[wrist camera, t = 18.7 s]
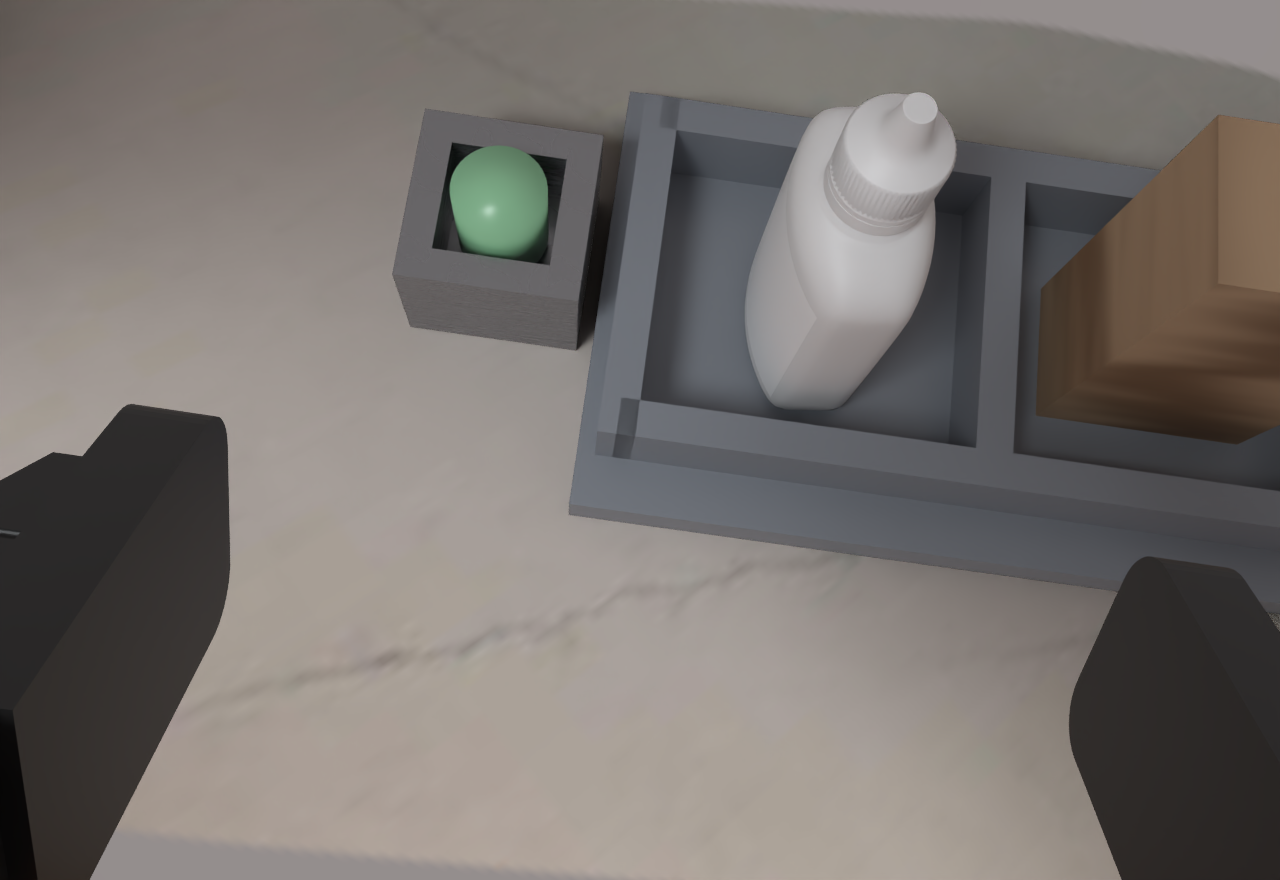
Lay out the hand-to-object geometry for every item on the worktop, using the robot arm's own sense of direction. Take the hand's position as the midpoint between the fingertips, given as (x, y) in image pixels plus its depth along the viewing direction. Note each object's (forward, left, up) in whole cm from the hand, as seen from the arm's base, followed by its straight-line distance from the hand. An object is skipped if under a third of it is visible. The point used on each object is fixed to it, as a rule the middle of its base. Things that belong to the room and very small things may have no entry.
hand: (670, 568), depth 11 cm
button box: (-4, +13, -24) cm, 27 cm away
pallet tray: (+10, +12, -24) cm, 28 cm away
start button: (-4, +13, -22) cm, 25 cm away
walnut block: (+15, +12, -22) cm, 29 cm away
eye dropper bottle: (+4, +11, -22) cm, 25 cm away
